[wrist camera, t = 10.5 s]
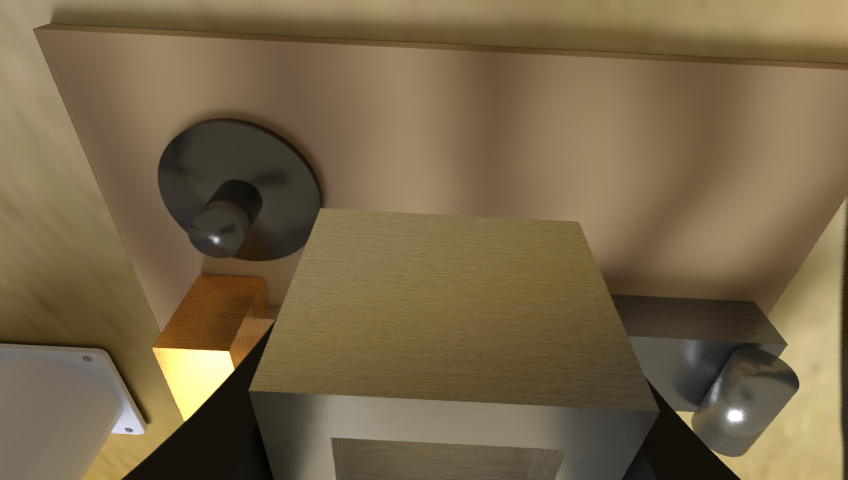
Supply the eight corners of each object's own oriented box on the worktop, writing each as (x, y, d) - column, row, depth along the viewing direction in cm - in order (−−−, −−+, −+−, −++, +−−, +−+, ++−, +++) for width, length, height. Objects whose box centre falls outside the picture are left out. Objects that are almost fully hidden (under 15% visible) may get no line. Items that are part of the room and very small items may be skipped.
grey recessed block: (337, 374, 13) (297, 559, 9) (320, 208, 10) (247, 390, 6) (533, 384, 13) (569, 573, 9) (578, 221, 10) (660, 411, 6)
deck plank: (174, 337, 26) (167, 348, 25) (49, 23, 16) (32, 28, 16) (719, 365, 26) (726, 377, 25) (908, 67, 16) (927, 74, 16)
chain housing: (522, 360, 25) (538, 450, 21) (540, 290, 22) (562, 379, 18) (711, 370, 25) (763, 462, 21) (754, 301, 22) (825, 393, 18)
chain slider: (222, 346, 25) (184, 421, 21) (198, 274, 22) (151, 347, 18) (571, 364, 25) (593, 443, 21) (596, 294, 22) (625, 372, 18)
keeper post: (186, 250, 21) (151, 299, 19) (142, 113, 17) (89, 151, 15) (328, 258, 21) (312, 307, 19) (314, 122, 17) (292, 161, 15)
